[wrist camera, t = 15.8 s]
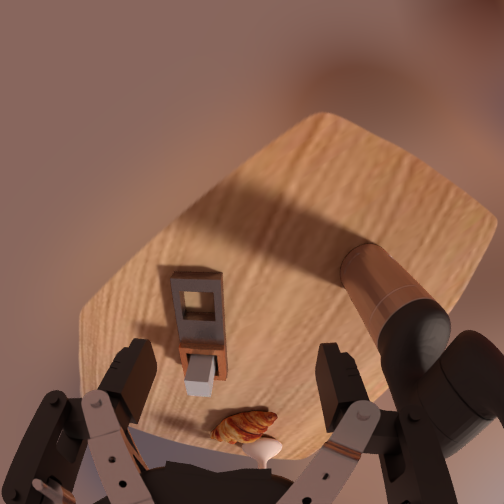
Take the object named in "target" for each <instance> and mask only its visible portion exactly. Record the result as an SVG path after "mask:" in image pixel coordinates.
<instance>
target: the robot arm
mask: <svg viewBox="0 0 504 504" xmlns="http://www.w3.org/2000/svg"><path fill="white" fill-rule="evenodd" d="M340 277H341V281H342V283H343V285H344V287H345V289H346V291H347V292H348V294H349V296H350V298H351V300H352V302H353V304H354V305H355V307H356V309H357V311H358V313H359V315H360V317H361V318H362V320H363V322H364V324H365V326H366V328H367V330H368V332H369V334H370V336H371V337H372V339H373V341H374V343H375V345H376V347H377V349H378V351H379V353H380V355H381V367H382V371H383V373H384V376H385V378H386V381H387V383H388V386H389V389H390V392H391V394H392V397H393V400H394V403H395V406H396V409H397V412H396V411H385V410H381V409H379V408H378V406H377V405H376V404H374V403H373V402H370V400H369V398H368V395H367V392H366V389H365V387H364V384H363V381H362V379H361V376H360V373H359V371H358V369H357V365H356V363H355V360H354V359H353V358H352V357H351V356H350V355H349V354H348V353H347V352H344V353H340V350H339V348H338V345H337V343H336V342H335V343H321V344H320V346H319V351H318V356H317V362H316V368H315V376H316V382H317V386H318V391H319V396H320V401H321V406H322V411H323V416H324V421H325V426H326V431H327V433H330V432H333V434H332V435H331V437H330V438H329V440H328V441H327V442H325V443H324V444H323V446H322V447H321V448H320V450H319V452H318V453H317V454H316V456H315V457H314V458H313V460H312V461H311V462H310V464H309V465H308V466H307V468H306V469H305V470H304V471H303V472H302V474H301V475H300V476H299V478H298V479H297V480H296V481H295V482H293V481H291V480H289V479H287V478H284V477H282V476H278V475H273V474H271V469H239V470H234V471H227V472H220V473H216V472H212V471H209V470H206V469H203V468H200V467H197V466H194V465H191V464H183V463H177V462H170V461H166V466H165V467H157V468H153V469H150V470H149V468H148V467H147V465H146V464H145V462H144V461H143V459H142V457H141V455H140V453H139V451H138V449H137V447H136V445H135V443H134V441H133V438H132V436H131V434H130V432H129V430H128V425H129V423H134V424H138V422H139V419H140V416H141V413H142V411H143V408H144V405H145V402H146V400H147V397H148V394H149V391H150V389H151V386H152V383H153V381H154V378H155V376H156V372H157V362H156V359H155V355H154V352H153V349H152V345H151V342H150V340H147V339H137V338H134V339H133V340H132V342H131V344H130V346H129V348H127V347H124V348H123V349H122V350H121V351H119V352H118V353H117V355H116V356H115V358H114V360H113V362H112V364H111V365H110V368H109V369H108V371H107V373H106V374H105V376H104V378H103V380H102V382H101V384H100V385H99V387H98V389H97V390H92V391H90V392H88V393H86V394H85V395H84V397H83V398H72V399H71V398H70V399H69V398H67V397H66V395H65V394H64V393H63V392H62V391H59V390H55V391H51V392H49V393H48V394H46V396H45V397H44V398H43V400H42V402H41V404H40V406H39V408H38V409H37V411H36V413H35V415H34V417H33V419H32V421H31V423H30V425H29V427H28V429H27V431H26V433H25V435H24V437H23V439H22V441H21V443H20V445H19V448H18V450H17V452H16V454H15V457H14V459H13V461H12V464H11V466H10V468H9V471H8V474H7V476H6V479H5V481H4V484H3V487H2V497H3V500H4V501H5V503H6V504H76V500H75V498H74V496H73V494H72V491H73V488H74V484H75V481H76V478H77V474H78V471H79V468H80V465H81V462H82V459H83V456H84V453H85V450H86V447H87V444H88V445H89V448H90V451H91V454H92V457H93V460H94V463H95V466H96V469H97V471H98V474H99V476H100V479H101V481H102V484H103V486H104V489H105V491H106V493H107V496H106V497H104V498H102V499H100V500H99V501H97V502H95V503H94V504H332V502H333V501H334V500H335V498H336V497H337V495H338V494H339V492H340V491H341V489H342V488H343V486H344V485H345V483H346V481H347V480H348V478H349V477H350V475H351V473H352V472H353V470H354V468H355V467H356V465H357V463H358V461H359V460H360V458H361V454H362V453H370V454H379V459H380V463H381V468H382V473H383V478H384V483H385V489H386V495H387V501H388V504H458V503H457V498H456V495H455V491H454V487H453V484H452V481H451V477H450V474H449V471H448V468H447V465H446V461H445V458H448V457H450V456H451V455H453V454H454V453H456V452H457V451H458V450H460V449H461V448H462V447H464V446H465V445H466V444H467V443H469V442H470V441H471V440H472V439H473V438H474V437H475V436H477V435H478V434H479V433H480V432H481V431H482V430H483V429H485V428H486V427H487V426H488V425H489V424H490V423H491V422H492V421H493V420H494V419H495V418H496V417H498V419H499V420H500V422H501V424H502V426H503V428H504V355H503V354H502V353H501V352H500V350H499V349H498V348H497V347H496V346H495V345H494V344H493V343H492V342H491V341H489V340H488V339H487V338H486V337H485V336H483V335H482V334H480V333H478V332H476V331H472V330H466V331H463V332H461V333H460V334H459V335H458V336H457V337H456V338H455V339H454V340H453V342H452V343H451V344H450V345H449V346H448V347H447V349H446V350H445V348H446V346H447V343H448V340H449V337H450V332H451V323H450V319H449V316H448V314H447V313H446V311H445V310H444V309H443V308H442V307H441V306H440V305H439V304H438V303H437V302H436V301H435V299H434V298H433V297H432V296H431V295H430V294H429V293H428V292H427V291H426V290H425V289H424V288H423V287H422V286H421V285H420V284H419V283H418V282H417V281H416V280H415V279H414V278H413V277H412V276H411V275H410V274H409V273H408V272H407V271H406V270H405V269H404V268H403V267H402V266H401V265H400V264H399V263H398V262H397V261H396V260H395V259H394V258H393V257H392V256H391V255H389V254H388V253H387V252H386V251H385V250H384V249H383V248H382V247H380V246H378V245H375V244H364V245H361V246H358V247H357V248H355V249H353V250H352V251H351V252H350V253H349V254H348V255H347V256H346V258H345V259H344V261H343V263H342V266H341V271H340ZM61 431H62V433H61ZM60 434H61V435H60ZM59 436H60V437H59ZM58 438H59V440H58ZM57 441H58V442H57ZM56 444H57V445H56Z"/></svg>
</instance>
